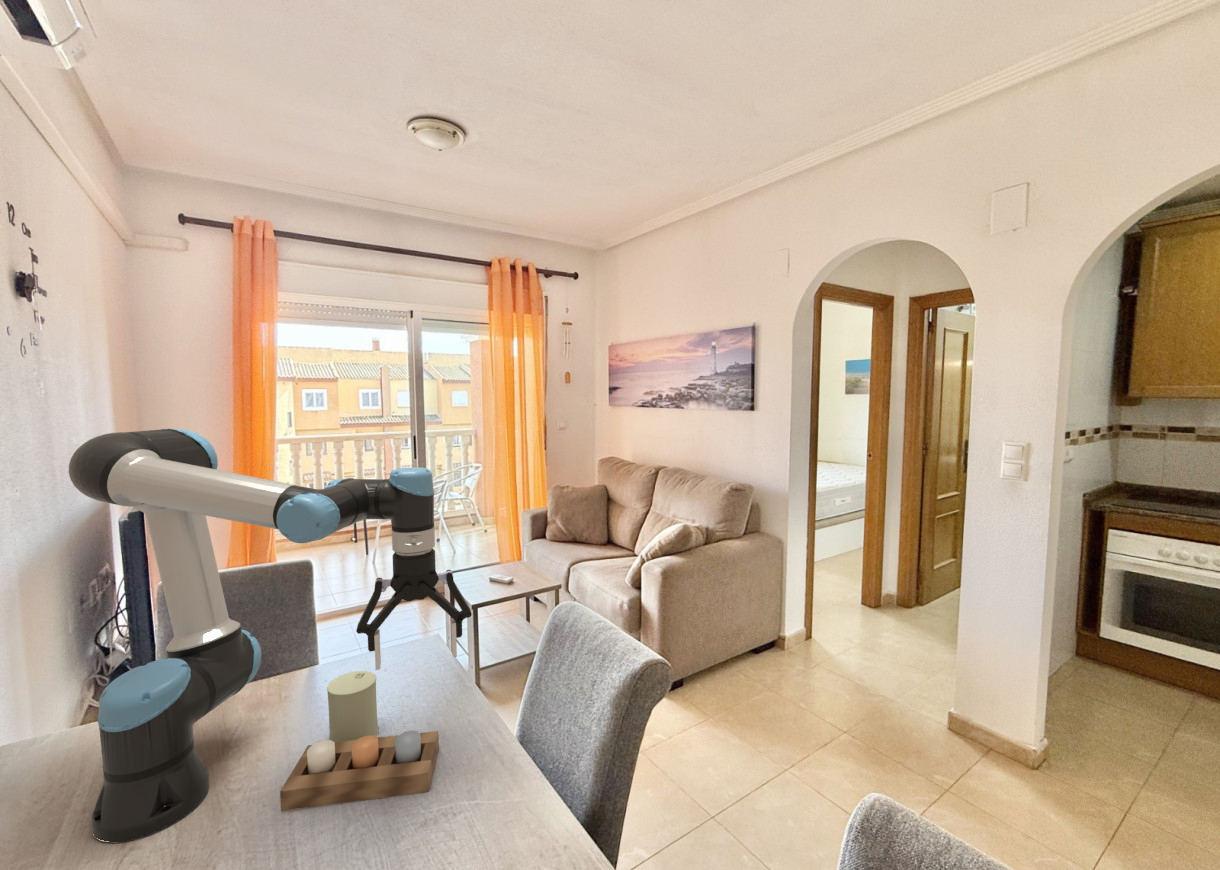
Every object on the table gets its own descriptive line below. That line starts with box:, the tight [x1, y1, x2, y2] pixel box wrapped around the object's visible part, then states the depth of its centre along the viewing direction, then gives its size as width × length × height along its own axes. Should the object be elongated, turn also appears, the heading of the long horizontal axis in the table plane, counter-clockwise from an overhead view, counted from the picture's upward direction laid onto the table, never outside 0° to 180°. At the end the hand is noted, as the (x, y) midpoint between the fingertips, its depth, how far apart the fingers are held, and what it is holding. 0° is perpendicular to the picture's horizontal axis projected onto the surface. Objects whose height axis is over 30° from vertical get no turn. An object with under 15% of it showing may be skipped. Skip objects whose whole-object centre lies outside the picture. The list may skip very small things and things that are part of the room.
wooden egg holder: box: [279, 730, 440, 812], centre depth 97 cm, size 24×12×4 cm, turn 100°
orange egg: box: [352, 735, 379, 769], centre depth 97 cm, size 4×4×5 cm
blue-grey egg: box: [395, 730, 421, 764], centre depth 98 cm, size 4×4×5 cm
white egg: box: [307, 739, 336, 775], centre depth 95 cm, size 4×4×5 cm
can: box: [326, 670, 379, 742], centre depth 108 cm, size 9×9×12 cm
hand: (417, 660), depth 100 cm, fingers open, 13 cm apart
